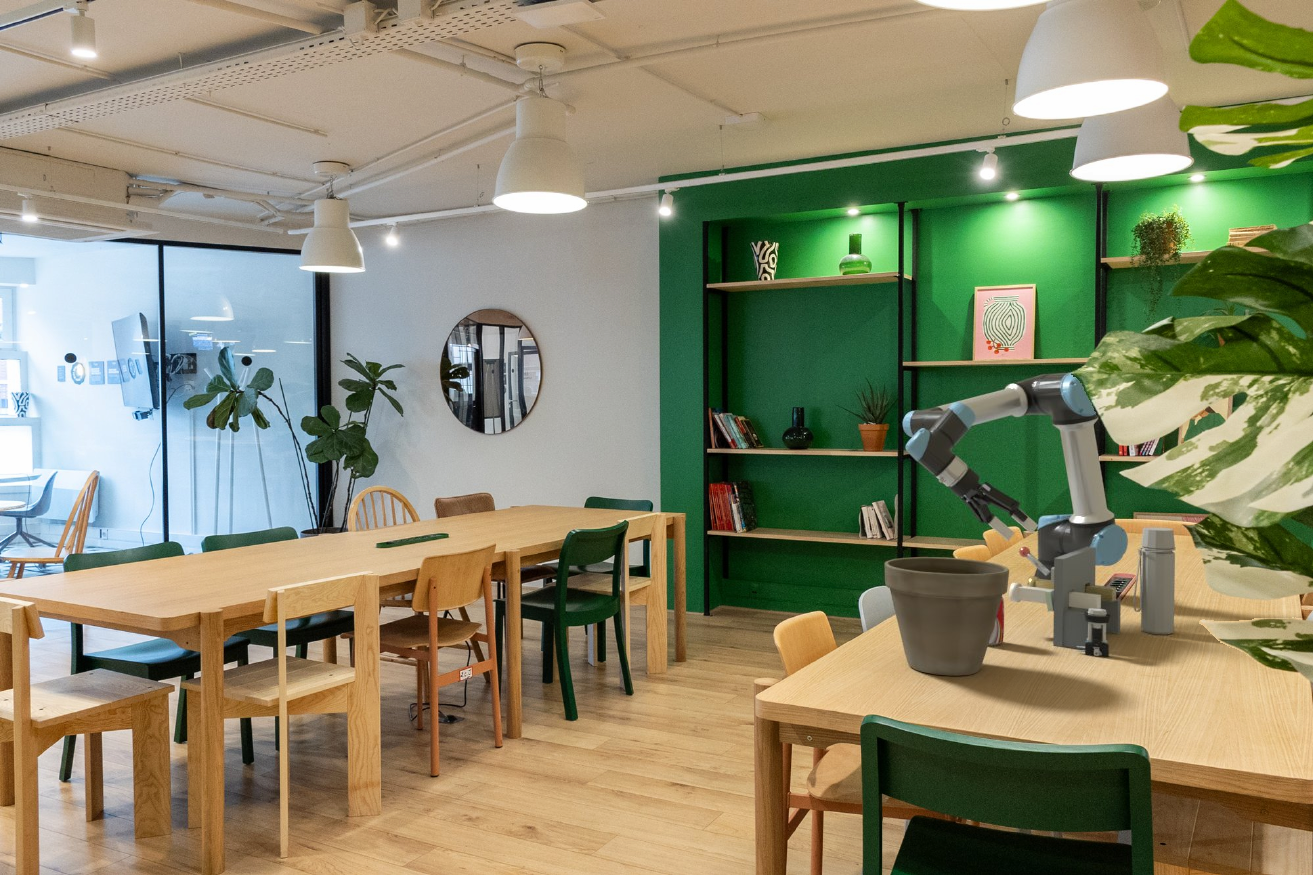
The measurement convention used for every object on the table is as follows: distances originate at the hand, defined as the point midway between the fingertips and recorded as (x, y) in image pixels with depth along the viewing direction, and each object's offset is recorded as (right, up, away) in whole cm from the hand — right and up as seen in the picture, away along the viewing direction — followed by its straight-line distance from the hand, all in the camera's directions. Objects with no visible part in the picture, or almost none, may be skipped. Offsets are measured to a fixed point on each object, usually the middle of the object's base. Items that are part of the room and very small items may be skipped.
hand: (1022, 533), depth 250 cm
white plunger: (0, -15, -21) cm, 26 cm away
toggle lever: (-6, -7, -22) cm, 24 cm away
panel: (+8, -23, -20) cm, 31 cm away
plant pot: (-33, -24, -45) cm, 60 cm away
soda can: (-17, -23, -24) cm, 37 cm away
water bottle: (+27, -23, -13) cm, 37 cm away
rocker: (-2, -15, -25) cm, 29 cm away
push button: (+3, -23, -35) cm, 42 cm away
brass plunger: (+7, -15, -12) cm, 20 cm away
